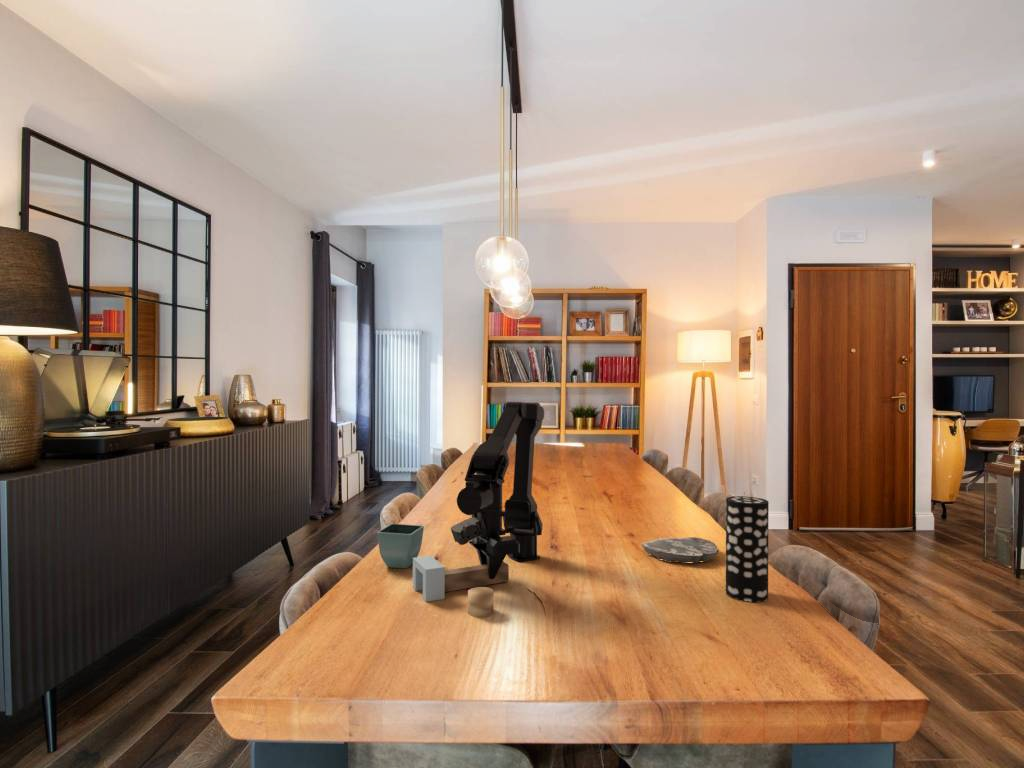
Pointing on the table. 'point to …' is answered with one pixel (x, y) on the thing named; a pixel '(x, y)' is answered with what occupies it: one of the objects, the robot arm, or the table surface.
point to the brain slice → (681, 549)
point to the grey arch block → (429, 577)
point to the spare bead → (480, 602)
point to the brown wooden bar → (473, 577)
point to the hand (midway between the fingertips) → (488, 576)
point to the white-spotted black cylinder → (747, 548)
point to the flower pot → (400, 544)
